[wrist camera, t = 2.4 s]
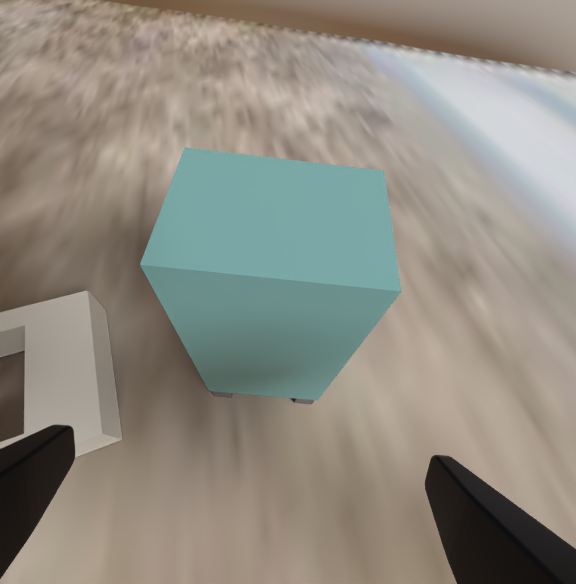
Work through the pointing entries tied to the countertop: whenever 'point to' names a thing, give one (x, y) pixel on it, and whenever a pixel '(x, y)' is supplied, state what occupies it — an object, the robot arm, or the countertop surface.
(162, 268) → the teal pillar on feet
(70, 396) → the slotted plate
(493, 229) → the countertop surface
